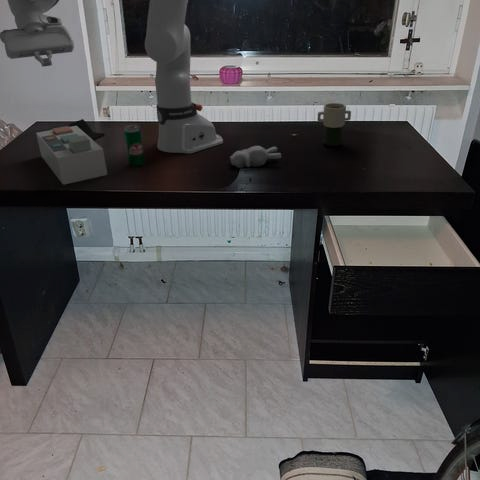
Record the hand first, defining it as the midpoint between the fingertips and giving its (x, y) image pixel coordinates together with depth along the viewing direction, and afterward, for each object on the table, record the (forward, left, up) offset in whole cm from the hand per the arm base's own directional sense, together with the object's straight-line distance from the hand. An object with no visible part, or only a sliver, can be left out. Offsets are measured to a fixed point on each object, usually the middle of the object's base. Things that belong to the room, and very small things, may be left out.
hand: (47, 64), depth 152 cm
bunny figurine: (-46, +46, -28) cm, 71 cm away
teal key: (0, +14, -24) cm, 28 cm away
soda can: (-16, +25, -28) cm, 41 cm away
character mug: (-77, +46, -28) cm, 94 cm away
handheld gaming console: (-9, -10, -28) cm, 31 cm away
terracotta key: (0, +4, -24) cm, 24 cm away
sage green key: (0, +24, -21) cm, 32 cm away
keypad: (+1, +14, -28) cm, 31 cm away
